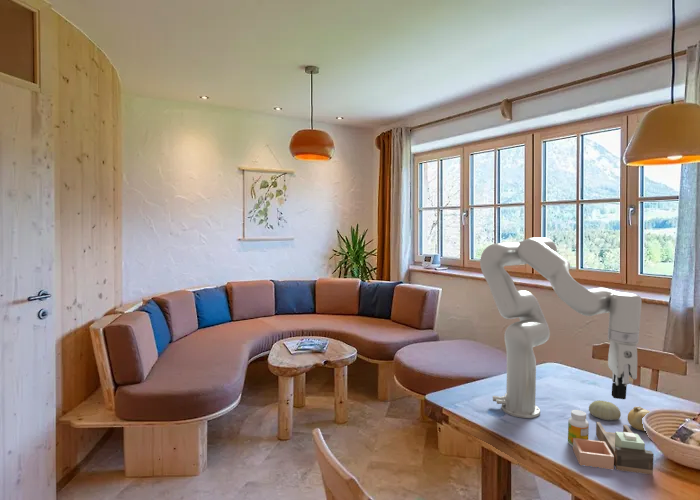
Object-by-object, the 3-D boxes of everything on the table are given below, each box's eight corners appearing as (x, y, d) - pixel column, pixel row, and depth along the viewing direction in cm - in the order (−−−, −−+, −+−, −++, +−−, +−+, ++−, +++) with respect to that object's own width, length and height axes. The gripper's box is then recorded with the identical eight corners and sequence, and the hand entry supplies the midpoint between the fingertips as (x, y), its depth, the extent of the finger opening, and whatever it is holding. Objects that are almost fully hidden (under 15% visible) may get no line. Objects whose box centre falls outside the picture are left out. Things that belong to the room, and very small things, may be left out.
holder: (579, 465, 117) (580, 452, 117) (572, 449, 125) (573, 437, 125) (613, 469, 115) (614, 456, 115) (604, 453, 123) (605, 441, 123)
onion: (643, 422, 142) (644, 401, 142) (664, 434, 134) (664, 412, 134) (621, 424, 141) (622, 403, 141) (641, 436, 133) (641, 413, 133)
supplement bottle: (563, 441, 130) (564, 409, 130) (578, 438, 132) (579, 407, 131) (576, 450, 125) (577, 417, 124) (592, 447, 126) (593, 415, 126)
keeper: (644, 465, 114) (645, 440, 114) (621, 462, 116) (621, 438, 116) (636, 454, 120) (637, 431, 119) (614, 452, 121) (615, 428, 121)
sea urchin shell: (590, 401, 154) (609, 390, 149) (607, 422, 150) (627, 411, 146) (582, 409, 148) (601, 398, 143) (599, 431, 144) (619, 420, 139)
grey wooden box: (652, 474, 113) (653, 454, 112) (616, 469, 115) (617, 449, 115) (626, 437, 132) (627, 420, 131) (595, 434, 134) (596, 416, 134)
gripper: (648, 345, 115) (643, 410, 117) (628, 330, 129) (624, 389, 131) (616, 342, 117) (611, 407, 119) (601, 328, 131) (596, 386, 133)
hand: (618, 397), depth 125 cm, fingers closed
